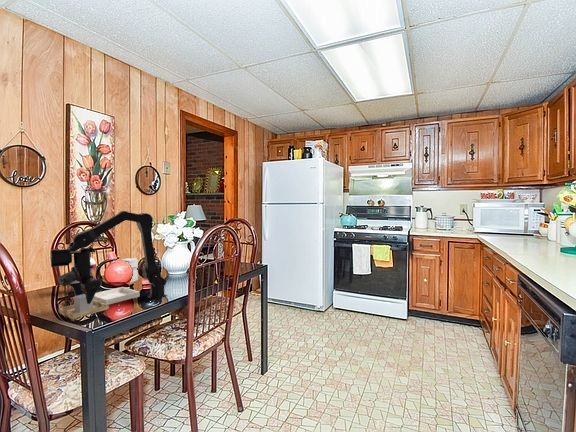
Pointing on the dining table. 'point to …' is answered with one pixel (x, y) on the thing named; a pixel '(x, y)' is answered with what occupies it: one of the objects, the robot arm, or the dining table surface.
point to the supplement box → (133, 267)
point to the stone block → (82, 303)
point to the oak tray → (72, 314)
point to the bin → (115, 295)
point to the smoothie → (93, 270)
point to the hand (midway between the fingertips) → (83, 301)
